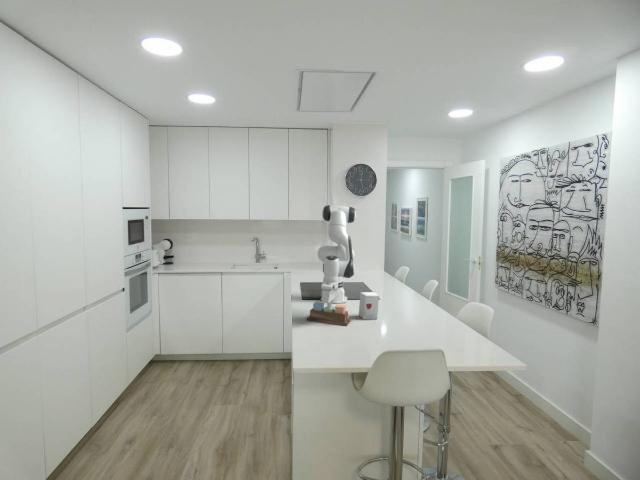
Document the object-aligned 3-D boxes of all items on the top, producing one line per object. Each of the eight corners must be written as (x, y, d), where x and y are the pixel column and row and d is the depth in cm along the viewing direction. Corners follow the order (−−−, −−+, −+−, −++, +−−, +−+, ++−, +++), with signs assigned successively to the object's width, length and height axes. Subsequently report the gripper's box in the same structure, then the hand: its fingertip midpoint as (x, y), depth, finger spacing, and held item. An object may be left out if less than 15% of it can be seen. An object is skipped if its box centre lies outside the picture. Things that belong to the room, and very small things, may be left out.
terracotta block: (336, 312, 231) (337, 304, 231) (345, 314, 230) (345, 305, 229) (334, 315, 226) (335, 306, 226) (343, 316, 225) (343, 307, 225)
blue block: (315, 310, 235) (315, 301, 235) (323, 311, 234) (323, 302, 233) (312, 312, 230) (313, 303, 230) (321, 313, 229) (321, 304, 228)
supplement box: (363, 320, 236) (365, 295, 234) (358, 315, 244) (359, 291, 243) (377, 319, 238) (379, 295, 237) (372, 315, 247) (373, 291, 246)
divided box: (311, 316, 239) (312, 306, 238) (350, 321, 232) (351, 311, 231) (306, 320, 229) (306, 310, 229) (346, 326, 222) (347, 315, 222)
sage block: (325, 314, 233) (326, 306, 233) (334, 315, 232) (334, 307, 231) (323, 316, 229) (324, 308, 228) (331, 317, 227) (332, 309, 227)
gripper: (330, 280, 239) (329, 303, 240) (320, 286, 220) (319, 311, 221) (340, 281, 237) (339, 304, 239) (331, 287, 218) (329, 312, 219)
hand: (329, 307), depth 230 cm, fingers closed
